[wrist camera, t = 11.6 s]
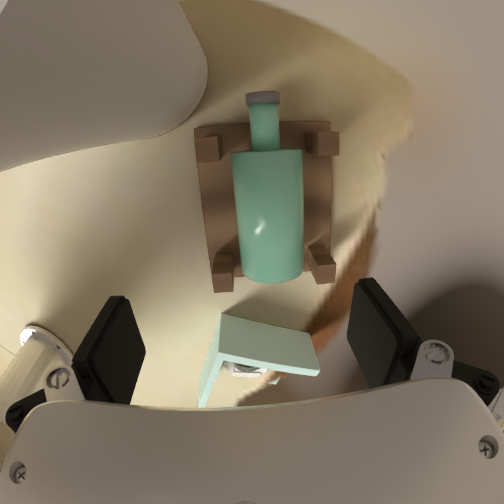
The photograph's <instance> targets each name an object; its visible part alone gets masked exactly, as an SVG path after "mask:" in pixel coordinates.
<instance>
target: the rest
mask: <svg viewBox="0 0 504 504" xmlns="http://www.w3.org/2000/svg"><path fill="white" fill-rule="evenodd" d="M279 130H280V146H281V148H299V149H302V157H303V186H304V270H303V272H305V271H311V272H312V274H313V276H314V279H315V281H316V283H317V284H325V283H335V274H336V263H335V261H334V260H333V258H332V257H331V255H330V232H331V156H339V132H330V122H329V121H285V122H279ZM194 135H195V149H196V159H197V165H198V174H199V183H200V191H201V200H202V208H203V216H204V223H205V231H206V238H207V245H208V252H209V259H210V266H211V273H212V274H211V275H212V281H213V288H214V293H219V292H233V285H234V277H245V276H244V274H243V273H242V268H241V258H240V248H239V237H238V227H237V216H236V206H235V195H234V184H233V173H232V162H231V153H232V152H236V151H242V150H250V149H252V142H251V129H250V123H245V124H232V125H221V126H212V127H203V128H195V129H194Z"/></svg>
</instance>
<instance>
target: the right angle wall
mask: <svg viewBox="0 0 504 504" xmlns="http://www.w3.org/2000/svg"><path fill="white" fill-rule="evenodd" d="M223 361H224V362H223ZM222 363H223V365H225V366H226V368H227V372H233V373H232V375H233V376H239V377H244V376H246V377H248V378H252V377H260V376H261V374H262V373H267V371H268V370H269V369H270V370H276V371H282V372H289V373H296V374H302V375H310V376H317V375H318V373H319V372H320V368H319V365H318V361H317V358H316V354H315V351H314V348H313V344H312V341H311V338H310V334H309V333H306V332H301V331H296V330H292V329H287V328H282V327H278V326H273V325H269V324H264V323H260V322H256V321H251V320H247V319H243V318H239V317H235V316H231V315H227V314H223V313H221V316H220V319H219V322H218V324H217V327H216V330H215V333H214V336H213V339H212V342H211V345H210V348H209V351H208V354H207V357H206V360H205V363H204V366H203V368H202V371H201V377H200V385H199V393H198V401H197V408H204V407H205V405H206V402H207V400H208V398H209V395H210V393H211V390H212V388H213V385H214V383H215V380H216V378H217V376H218V373H219V371H220V368H221V366H222ZM237 363H239V364H243V365H248V366H251V367H249V368H247V367H243V366H239V365H238V364H237ZM278 380H279V379H278ZM278 380H277V381H275V382H272V383H270V384H276V383H277V382H278Z"/></svg>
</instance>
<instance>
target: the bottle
mask: <svg viewBox="0 0 504 504" xmlns="http://www.w3.org/2000/svg"><path fill="white" fill-rule="evenodd" d="M245 96H246V106H249V116H250V129H251V142H252V149H250V150H242V151H236V152H232V153H231V162H232V173H233V184H234V195H235V206H236V216H237V227H238V237H239V248H240V258H241V268H242V273H243V274H244V276H246V277H247V278H248V279H250V280H253V281H256V282H261V283H281V282H286V281H289V280H292V279H294V278H296V277H298V276H299V275H300V274H301V273H302V272H303V270H304V186H303V157H302V149H299V148H281V146H280V130H279V115H278V105H279V104H280V96H279V92H275V91H261V92H252V93H247V94H245Z"/></svg>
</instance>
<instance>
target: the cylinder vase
mask: <svg viewBox="0 0 504 504" xmlns="http://www.w3.org/2000/svg"><path fill="white" fill-rule="evenodd" d="M207 79H208V64H207V59H206V56H205V53H204V51H203V49H202V47H201V45H200V43H199V41H198V39H197V37H196V35H195V33H194V31H193V29H192V27H191V25H190V23H189V21H188V19H187V17H186V15H185V13H184V11H183V9H182V7H181V5H180V3H179V1H178V0H0V172H1V171H4V170H7V169H10V168H14V167H17V166H20V165H23V164H27V163H30V162H34V161H37V160H41V159H44V158H48V157H52V156H56V155H60V154H64V153H69V152H73V151H78V150H82V149H87V148H92V147H97V146H103V145H108V144H114V143H120V142H127V141H134V140H141V139H148V138H153V137H157V136H160V135H162V134H165V133H167V132H169V131H171V130H173V129H174V128H176V127H177V126H179V125H180V124H181V123H182V122H184V121H185V120H186V119H187V118H188V117H189V116H190V115H191V114H192V112H193V111H194V110H195V108H196V107H197V105H198V104H199V102H200V100H201V98H202V96H203V94H204V91H205V88H206V84H207Z"/></svg>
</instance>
